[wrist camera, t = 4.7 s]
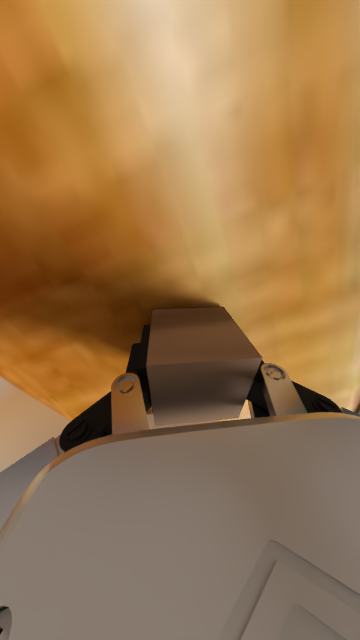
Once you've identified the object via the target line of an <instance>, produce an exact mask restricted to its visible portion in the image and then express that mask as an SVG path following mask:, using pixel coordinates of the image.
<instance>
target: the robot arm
mask: <svg viewBox="0 0 360 640" xmlns="http://www.w3.org/2000/svg"><path fill="white" fill-rule="evenodd" d="M150 328H151V325H144V327H143V333H142V338H141V343H139V344H133V346H132V349H131V353H130V358H129V362H128V366H127V370H126V373H124V374H122V375H120V376H118V377H117V378H116V379H115V380H114V381H113V383H112V386H111V392H109V393H108V394H107V395H105V396H104V397H103V398H101V399H100V400H99V401H97V402H96V403H95V404H93V405H92V406H91V407H89V408H88V409H87V410H85V411H84V412H83V413H81V414H80V415H79V416H77V417H76V418H75V419H73V420H72V421H71V422H70V423H69V424H68V425H67V426H66V427H65V428H64V430H63V431H62V434H61V435H60V436H58V437H57V438H54V437H53V438H51V439H50V440H48V441H47V442H45V443H44V444H42V445H41V446H39V447H38V448H36V449H35V450H33V451H32V452H30V453H29V454H27V455H26V456H24V457H23V458H21V459H20V460H18V461H17V462H15V463H14V464H12V465H11V466H9V467H8V468H6V469H5V470H4V471H2V472H0V640H360V415H359V414H357V413H355V412H352V411H350V410H347V409H345V408H343V407H341V408H339V407H338V406H337V405H336V404H335V403H334V402H333V401H331V400H330V399H328V398H327V397H325V396H323V395H321V394H318V393H316V392H314V391H312V390H310V389H308V388H306V387H304V386H302V385H299V384H297V383H295V382H293V381H291V379H290V378H289V376H288V374H287V372H286V371H285V370H284V369H283V368H281V367H280V366H278V365H276V364H272V363H264V362H263V361H262V360H261V363H260V365H259V368H258V370H257V373H256V375H255V378H254V380H253V383H252V385H251V388H250V390H249V393H248V395H247V398H246V399H247V400H248V405H249V409H250V414H251V418H250V419H241V420H231V421H222V422H212V423H203V424H193V425H184V426H175V427H166V428H157V429H149V424H148V420H147V415H146V412H147V411H148V410H149V409H150V407H151V406H152V402H151V395H150V388H149V381H148V374H147V367H146V363H147V354H148V346H149V337H150Z"/></svg>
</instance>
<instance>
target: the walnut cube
mask: <svg viewBox="0 0 360 640" xmlns="http://www.w3.org/2000/svg"><path fill="white" fill-rule="evenodd" d="M261 360H262V356H261V355H260V354H259V353H258V351H257V350H256V349H255V347H254V346H253V345H252V343H251V342H250V341H249V339H248V338H247V337H246V336H245V334H244V333H243V332H242V330H241V329H240V328H239V326H238V325H237V324H236V323H235V321H234V320H233V319H232V317H231V316H230V315H229V313H228V312H227V311H226V309H225V308H224V307H203V308H173V309H153V310H152V319H151V328H150V337H149V346H148V354H147V363H146V367H147V374H148V381H149V388H150V395H151V402H152V409H153V416H154V423H155V426H164V425H174V424H183V423H193V422H203V421H212V420H222V419H232V418H238V417H239V415H240V412H241V410H242V408H243V405H244V403H245V400H246V398H247V395H248V393H249V390H250V388H251V385H252V383H253V380H254V378H255V375H256V373H257V370H258V368H259V365H260V363H261Z"/></svg>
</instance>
